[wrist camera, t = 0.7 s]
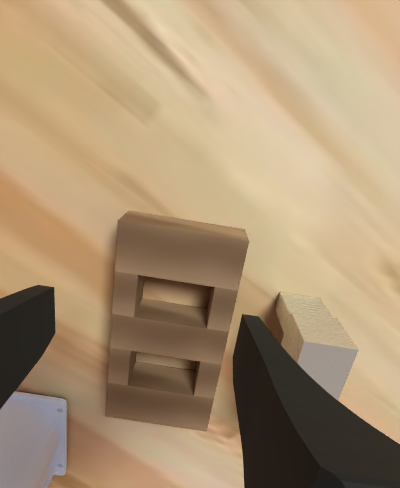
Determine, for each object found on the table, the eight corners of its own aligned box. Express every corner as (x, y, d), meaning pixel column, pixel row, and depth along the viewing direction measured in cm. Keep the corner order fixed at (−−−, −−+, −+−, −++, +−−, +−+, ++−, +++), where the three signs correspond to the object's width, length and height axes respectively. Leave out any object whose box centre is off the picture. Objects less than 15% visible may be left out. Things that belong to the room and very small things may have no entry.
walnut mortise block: (206, 404, 26) (206, 431, 24) (115, 390, 26) (105, 416, 23) (244, 229, 21) (249, 241, 18) (128, 210, 20) (118, 220, 18)
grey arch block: (293, 380, 25) (316, 452, 19) (257, 374, 25) (270, 445, 19) (321, 295, 22) (358, 350, 16) (280, 288, 22) (304, 341, 16)
